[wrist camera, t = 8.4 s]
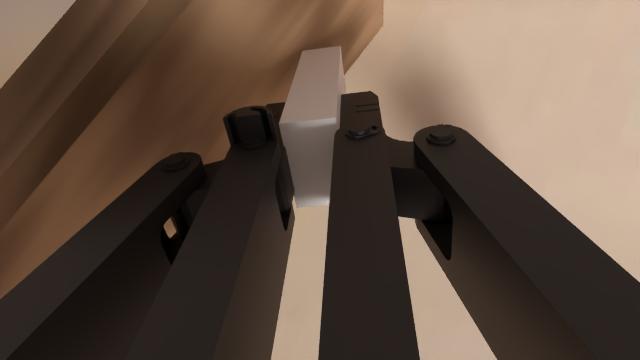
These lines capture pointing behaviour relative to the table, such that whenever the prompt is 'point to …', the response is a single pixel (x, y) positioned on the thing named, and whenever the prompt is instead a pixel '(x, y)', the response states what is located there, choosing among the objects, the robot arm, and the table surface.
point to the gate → (143, 100)
